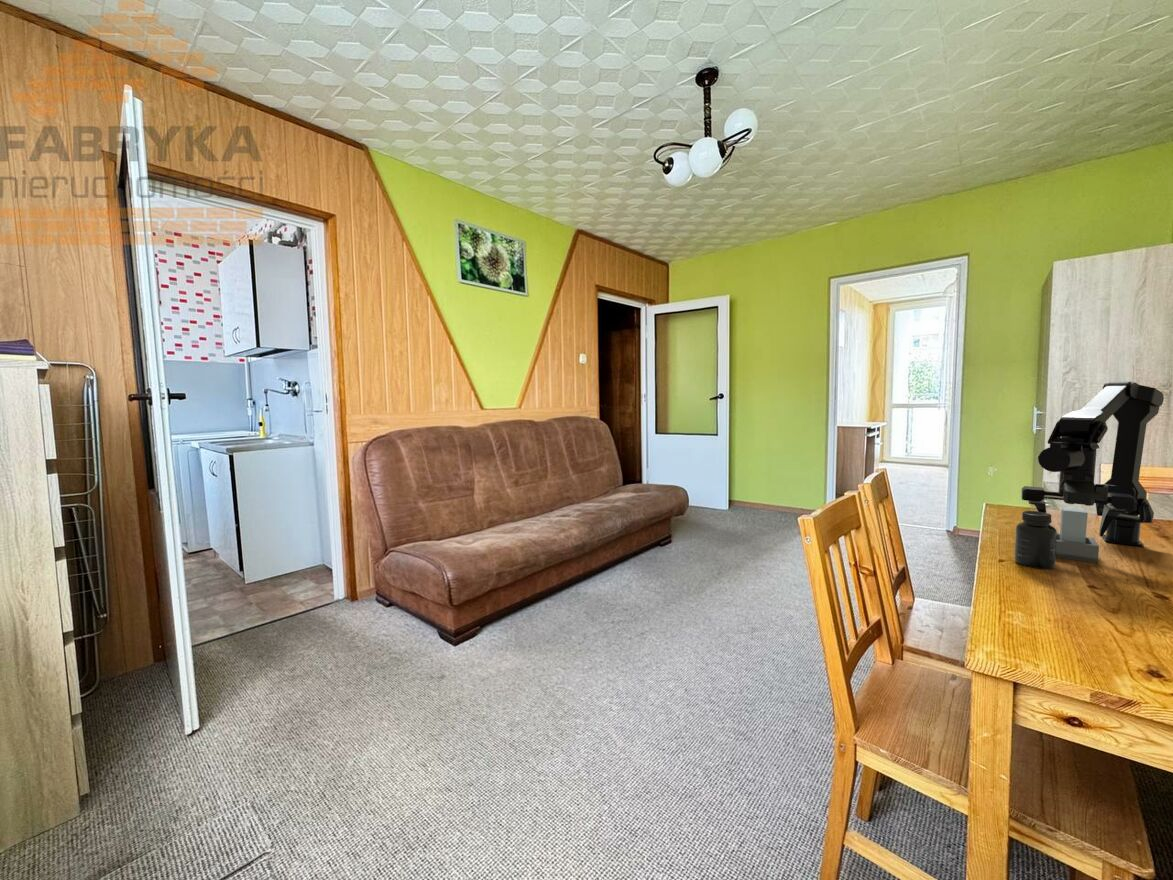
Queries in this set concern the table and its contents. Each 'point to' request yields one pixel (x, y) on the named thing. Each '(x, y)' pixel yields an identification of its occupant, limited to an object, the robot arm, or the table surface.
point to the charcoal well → (1078, 550)
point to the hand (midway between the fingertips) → (1072, 532)
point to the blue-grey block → (1073, 525)
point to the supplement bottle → (1035, 541)
